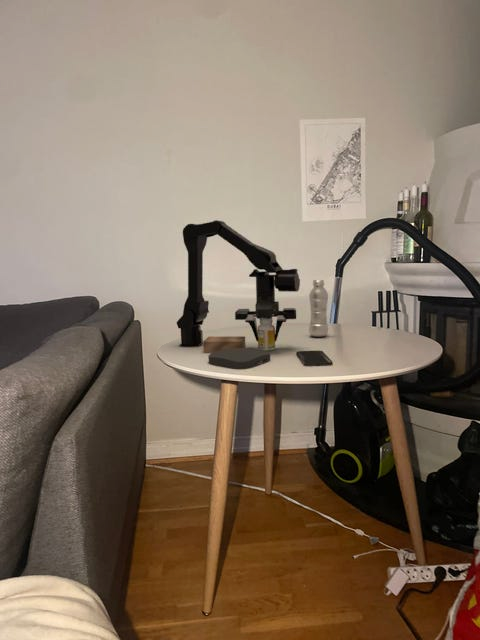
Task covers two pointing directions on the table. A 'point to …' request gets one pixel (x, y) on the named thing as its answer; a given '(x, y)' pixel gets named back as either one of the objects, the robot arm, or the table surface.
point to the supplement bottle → (266, 335)
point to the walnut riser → (223, 343)
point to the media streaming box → (239, 357)
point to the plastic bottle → (318, 309)
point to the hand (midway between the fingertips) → (266, 341)
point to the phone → (314, 358)
